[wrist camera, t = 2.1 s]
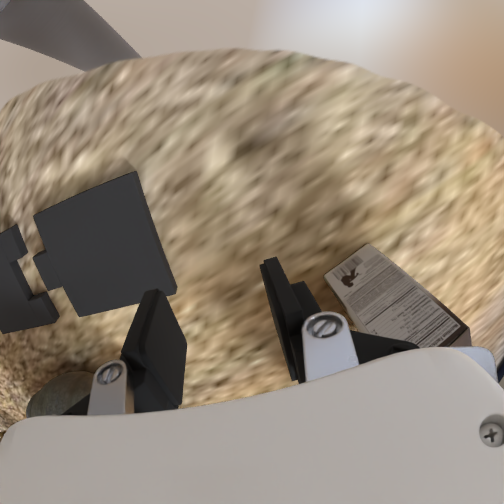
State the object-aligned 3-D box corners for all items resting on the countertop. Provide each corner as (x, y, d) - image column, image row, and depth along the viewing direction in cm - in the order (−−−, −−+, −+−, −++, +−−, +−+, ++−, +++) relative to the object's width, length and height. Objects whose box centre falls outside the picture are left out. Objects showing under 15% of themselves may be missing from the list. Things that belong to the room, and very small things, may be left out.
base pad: (-30, 252, 23) (-37, 256, 22) (17, 224, 23) (9, 228, 22) (7, 328, 28) (2, 334, 26) (60, 316, 28) (55, 323, 26)
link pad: (26, 219, 23) (18, 223, 22) (136, 170, 23) (131, 172, 22) (69, 313, 28) (64, 321, 26) (177, 286, 28) (175, 294, 27)
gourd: (79, 451, 36) (63, 520, 19) (24, 341, 30) (-32, 410, 14) (206, 453, 41) (220, 532, 24) (181, 337, 35) (183, 437, 19)
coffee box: (395, 295, 32) (475, 381, 17) (354, 326, 33) (418, 427, 18) (368, 239, 28) (473, 325, 14) (320, 275, 29) (397, 389, 14)
